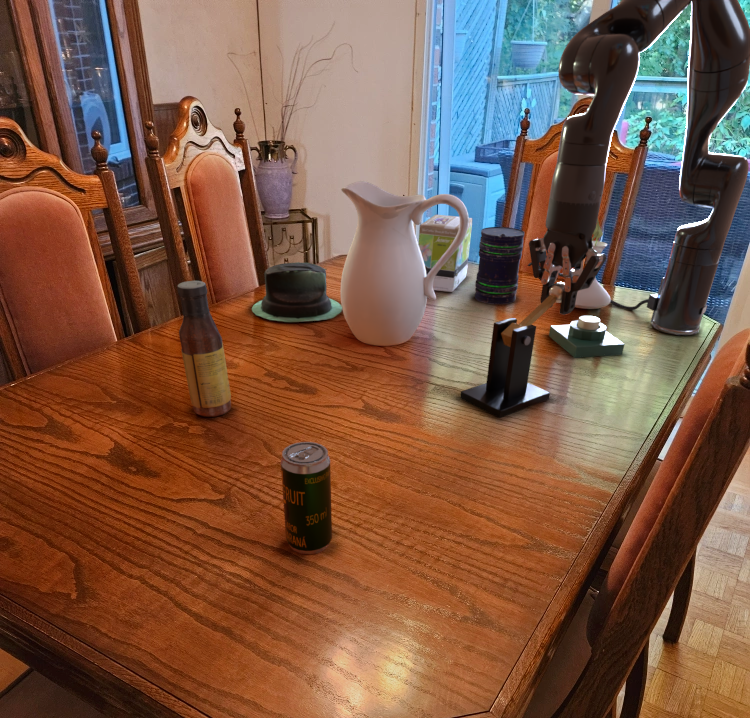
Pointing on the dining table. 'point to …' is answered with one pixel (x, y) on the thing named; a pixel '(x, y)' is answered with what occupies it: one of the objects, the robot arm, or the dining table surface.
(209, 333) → the sauce bottle
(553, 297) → the lever
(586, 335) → the switch block
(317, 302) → the fedora hat
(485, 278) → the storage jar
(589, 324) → the button
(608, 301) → the flower in vase
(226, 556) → the dining table surface
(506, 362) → the bracket
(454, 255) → the tea box
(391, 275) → the pitcher
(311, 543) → the green drink can
